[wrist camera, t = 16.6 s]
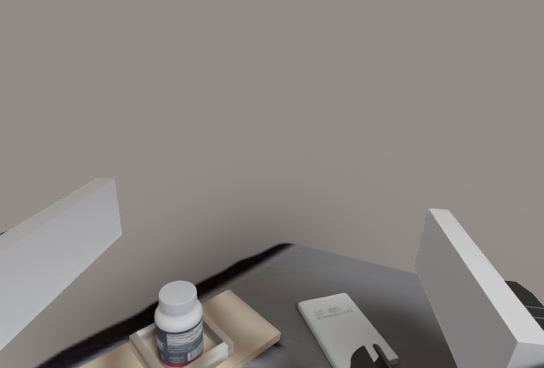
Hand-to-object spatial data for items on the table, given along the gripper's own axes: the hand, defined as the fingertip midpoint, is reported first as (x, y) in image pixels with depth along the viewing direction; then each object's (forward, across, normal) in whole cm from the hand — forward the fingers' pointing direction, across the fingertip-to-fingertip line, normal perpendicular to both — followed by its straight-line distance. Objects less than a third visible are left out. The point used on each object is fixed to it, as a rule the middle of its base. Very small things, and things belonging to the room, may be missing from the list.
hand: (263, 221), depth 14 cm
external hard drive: (+24, +8, -30) cm, 39 cm away
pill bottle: (+16, -11, -27) cm, 34 cm away
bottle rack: (+16, -11, -28) cm, 34 cm away
